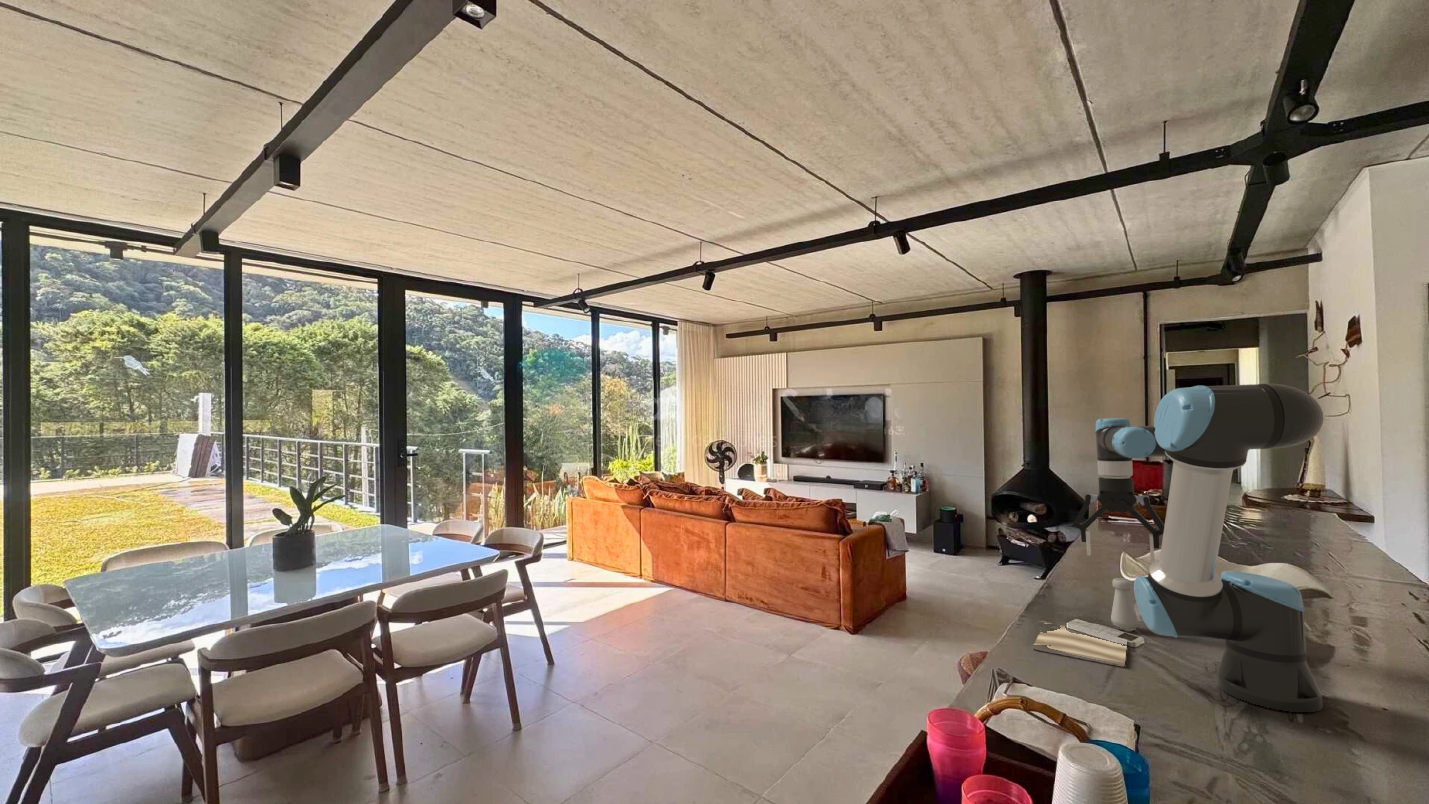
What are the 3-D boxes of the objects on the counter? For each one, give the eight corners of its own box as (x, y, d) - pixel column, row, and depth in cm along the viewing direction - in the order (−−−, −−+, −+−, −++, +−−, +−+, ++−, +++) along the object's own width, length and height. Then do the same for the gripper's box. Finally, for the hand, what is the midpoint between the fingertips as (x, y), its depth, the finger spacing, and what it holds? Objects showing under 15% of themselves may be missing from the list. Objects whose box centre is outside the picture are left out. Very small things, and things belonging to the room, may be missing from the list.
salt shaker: (1138, 635, 144) (1135, 583, 145) (1110, 630, 148) (1108, 580, 148) (1138, 627, 149) (1135, 577, 149) (1111, 623, 152) (1109, 574, 153)
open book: (1125, 668, 126) (1124, 662, 126) (1033, 650, 137) (1033, 645, 138) (1128, 641, 141) (1127, 636, 141) (1045, 626, 152) (1044, 622, 152)
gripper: (1175, 476, 145) (1180, 560, 144) (1062, 473, 160) (1066, 549, 159) (1176, 479, 139) (1182, 567, 138) (1058, 476, 154) (1062, 554, 154)
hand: (1119, 557), depth 149 cm, fingers open, 13 cm apart
